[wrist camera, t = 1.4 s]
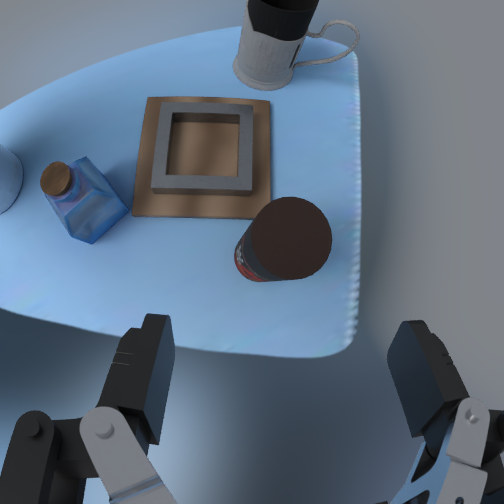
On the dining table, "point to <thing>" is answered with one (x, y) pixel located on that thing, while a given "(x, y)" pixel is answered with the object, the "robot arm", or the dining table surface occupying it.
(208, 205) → the locating plate
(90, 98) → the dining table surface
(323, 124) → the dining table surface
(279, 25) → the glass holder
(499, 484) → the robot arm
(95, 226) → the perfume bottle
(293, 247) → the deodorant
